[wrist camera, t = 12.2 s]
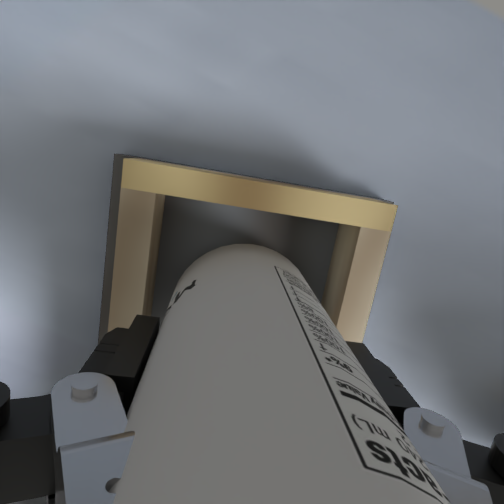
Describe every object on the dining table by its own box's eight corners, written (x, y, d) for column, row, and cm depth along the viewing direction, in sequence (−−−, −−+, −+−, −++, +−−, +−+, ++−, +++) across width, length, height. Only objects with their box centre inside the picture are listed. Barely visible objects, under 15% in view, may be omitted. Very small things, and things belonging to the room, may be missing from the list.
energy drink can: (164, 245, 16) (-382, 1042, 2) (303, 232, 16) (903, 804, 2) (183, 370, 18) (-14, 1364, 3) (310, 355, 18) (674, 1205, 3)
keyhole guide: (382, 199, 18) (423, 209, 14) (285, 586, 23) (296, 664, 20) (122, 154, 16) (93, 153, 13) (84, 575, 22) (56, 657, 18)
